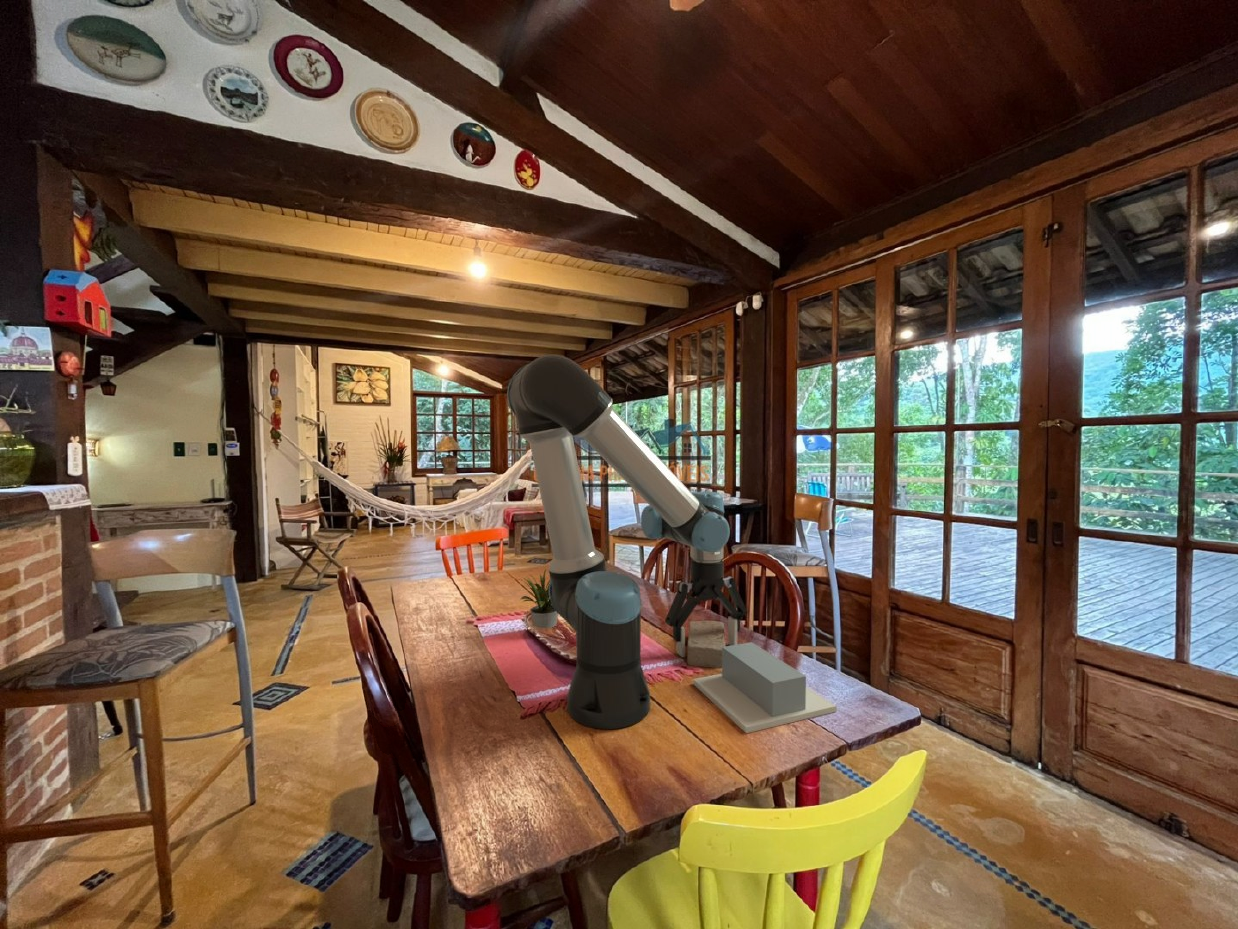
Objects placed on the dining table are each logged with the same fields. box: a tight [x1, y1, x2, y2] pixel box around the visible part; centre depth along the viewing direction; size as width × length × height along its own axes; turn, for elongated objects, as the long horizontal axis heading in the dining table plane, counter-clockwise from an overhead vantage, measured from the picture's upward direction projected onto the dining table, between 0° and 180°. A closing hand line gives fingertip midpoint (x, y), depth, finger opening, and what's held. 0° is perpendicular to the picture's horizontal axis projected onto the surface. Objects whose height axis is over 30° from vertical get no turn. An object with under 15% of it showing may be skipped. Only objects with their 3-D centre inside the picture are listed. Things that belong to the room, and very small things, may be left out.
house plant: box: [517, 568, 559, 629], centre depth 124 cm, size 14×14×16 cm
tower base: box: [692, 641, 838, 734], centre depth 94 cm, size 19×18×7 cm
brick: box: [687, 620, 727, 669], centre depth 115 cm, size 17×8×5 cm, turn 170°
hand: (707, 650), depth 115 cm, fingers open, 13 cm apart
